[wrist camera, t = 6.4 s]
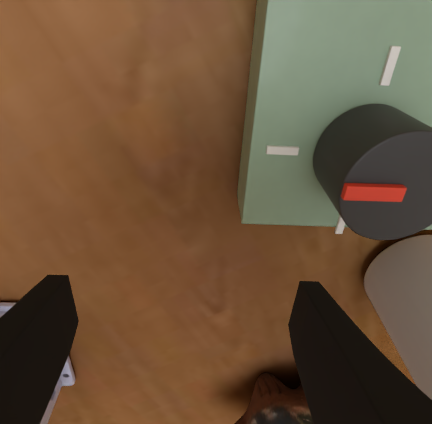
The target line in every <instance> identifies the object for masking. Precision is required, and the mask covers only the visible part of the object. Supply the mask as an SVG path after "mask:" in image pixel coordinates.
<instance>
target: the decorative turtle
mask: <svg viewBox="0 0 432 424" xmlns="http://www.w3.org/2000/svg"><path fill="white" fill-rule="evenodd" d="M235 424H313V421H312V417H311V414H310V410H309V407H308V404H307V400H306V397H305V393H304V390H303V387H302V383H301V384H300V386H299V387H298V388H297V389H291V388H288V387H286V386H285V385H284V384H283V383H282V382H281V381H280V380H278V379H277V378H276V377H275V376H274V375H272V374H270V373H263V374H261V375H260V376H259V377H258V379H257V381H256V383H255V386H254V390H253V394H252V398H251V401H250V403H249V406H248V408H247V410H246V412H245V413H244V415H243V416H242V417H241V418H240V419H239V420H238V421H237V422H236V423H235Z"/></svg>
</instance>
